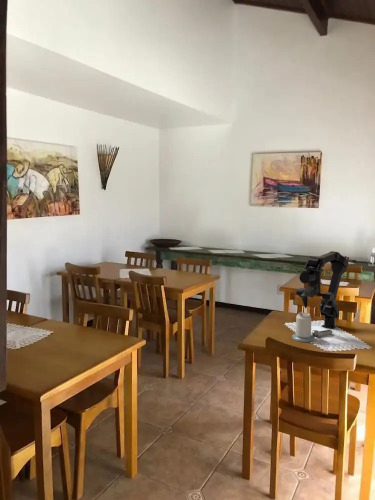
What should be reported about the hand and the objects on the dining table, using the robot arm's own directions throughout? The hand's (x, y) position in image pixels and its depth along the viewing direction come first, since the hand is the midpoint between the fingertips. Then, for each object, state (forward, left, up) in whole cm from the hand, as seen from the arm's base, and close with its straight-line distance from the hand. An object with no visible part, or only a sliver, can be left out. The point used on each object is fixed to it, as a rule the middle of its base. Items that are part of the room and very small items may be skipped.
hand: (314, 309), depth 216 cm
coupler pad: (+10, -1, -13) cm, 17 cm away
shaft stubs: (0, -1, -13) cm, 13 cm away
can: (+10, -1, -12) cm, 16 cm away
